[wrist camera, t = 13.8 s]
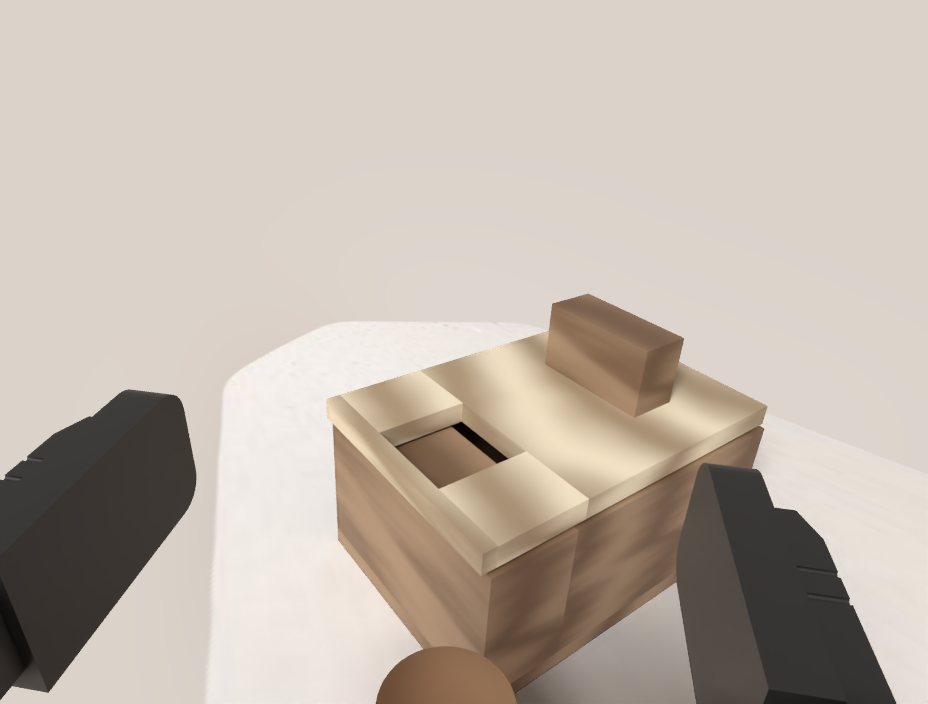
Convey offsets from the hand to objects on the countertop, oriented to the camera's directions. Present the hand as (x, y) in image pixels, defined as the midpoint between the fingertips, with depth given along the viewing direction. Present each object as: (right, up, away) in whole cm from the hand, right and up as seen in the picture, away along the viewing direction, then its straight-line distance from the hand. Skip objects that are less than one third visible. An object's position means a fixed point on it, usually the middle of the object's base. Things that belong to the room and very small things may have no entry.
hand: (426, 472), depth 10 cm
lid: (+5, -2, +27) cm, 27 cm away
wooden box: (+5, -10, +31) cm, 33 cm away
